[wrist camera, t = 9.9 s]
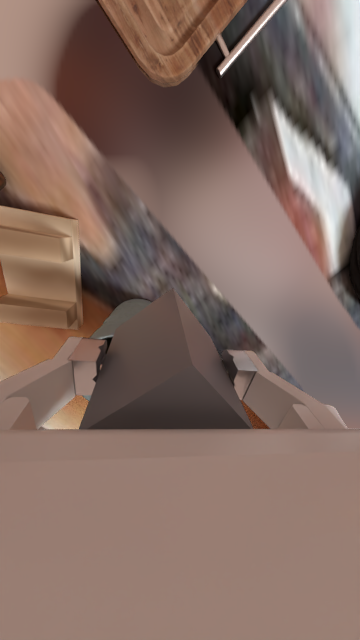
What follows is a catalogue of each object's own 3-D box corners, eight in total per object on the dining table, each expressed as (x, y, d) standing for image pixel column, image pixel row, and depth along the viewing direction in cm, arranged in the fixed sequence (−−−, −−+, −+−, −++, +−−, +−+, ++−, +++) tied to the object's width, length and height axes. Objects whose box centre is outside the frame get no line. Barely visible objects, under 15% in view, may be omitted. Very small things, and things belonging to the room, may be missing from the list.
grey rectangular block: (210, 337, 12) (255, 433, 6) (159, 369, 12) (162, 479, 7) (172, 287, 10) (192, 364, 5) (116, 328, 11) (76, 435, 5)
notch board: (83, 323, 28) (68, 341, 24) (24, 317, 27) (-3, 334, 22) (78, 220, 22) (57, 218, 18) (2, 205, 21) (-41, 199, 17)
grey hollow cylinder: (163, 353, 32) (165, 417, 21) (102, 345, 30) (70, 410, 20) (176, 299, 28) (186, 343, 17) (105, 286, 26) (67, 327, 15)
